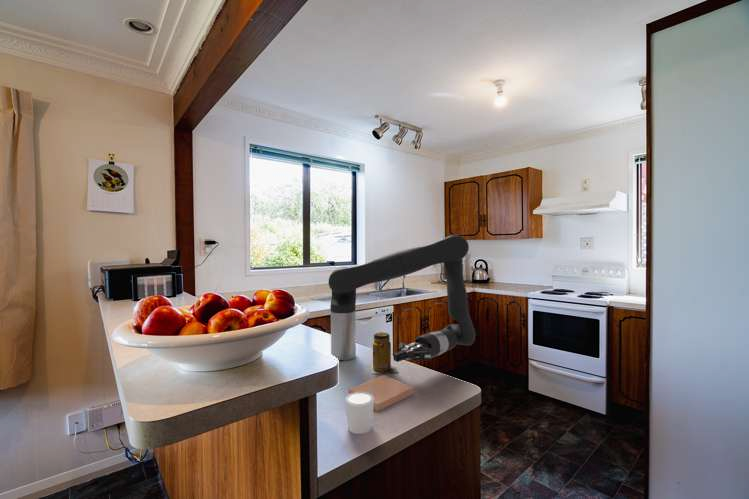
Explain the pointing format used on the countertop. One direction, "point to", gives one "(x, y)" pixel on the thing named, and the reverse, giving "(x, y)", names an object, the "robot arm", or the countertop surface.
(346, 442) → the countertop surface
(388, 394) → the tile
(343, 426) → the countertop surface
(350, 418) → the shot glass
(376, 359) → the condiment
